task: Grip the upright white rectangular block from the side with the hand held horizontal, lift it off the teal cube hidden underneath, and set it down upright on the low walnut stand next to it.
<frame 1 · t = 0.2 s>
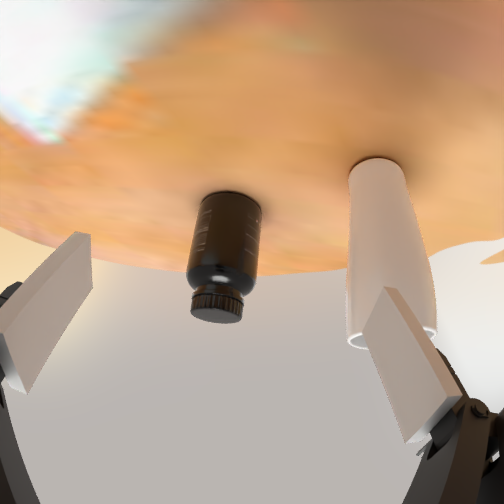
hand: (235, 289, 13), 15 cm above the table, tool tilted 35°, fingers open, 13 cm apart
supplement bottle: (231, 208, 35), on the table
drinking glass: (375, 173, 27), on the table
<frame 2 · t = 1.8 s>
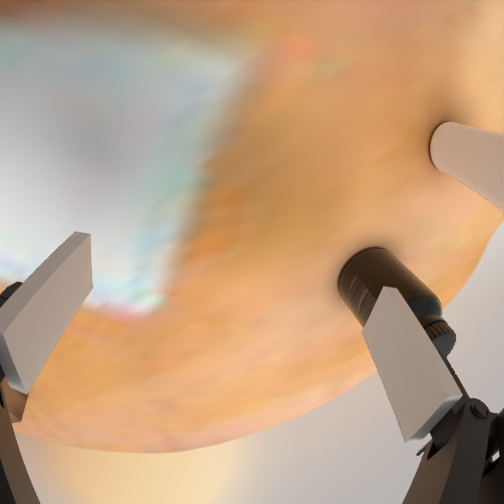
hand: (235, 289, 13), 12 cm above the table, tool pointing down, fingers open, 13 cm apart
supplement bottle: (366, 274, 31), on the table
drinking glass: (444, 145, 26), on the table
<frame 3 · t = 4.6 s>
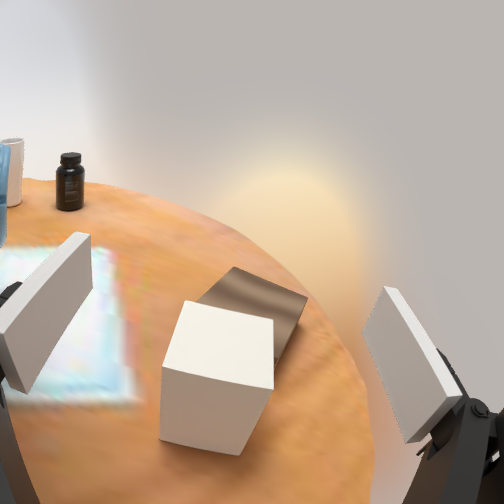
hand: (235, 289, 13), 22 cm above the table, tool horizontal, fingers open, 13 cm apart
walnut stand: (244, 333, 43), on the table
supplement bottle: (69, 206, 64), on the table
upright white rectangular block: (204, 417, 30), on the table
drinking glass: (12, 203, 58), on the table
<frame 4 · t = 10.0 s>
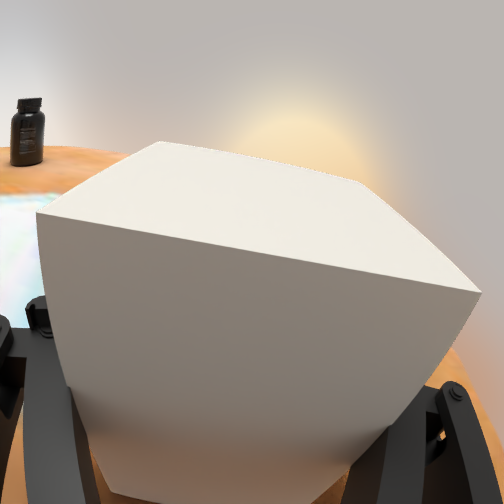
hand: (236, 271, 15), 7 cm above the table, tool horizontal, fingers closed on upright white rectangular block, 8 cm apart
supplement bottle: (26, 163, 46), on the table
upright white rectangular block: (210, 437, 13), on the table, touching gripper
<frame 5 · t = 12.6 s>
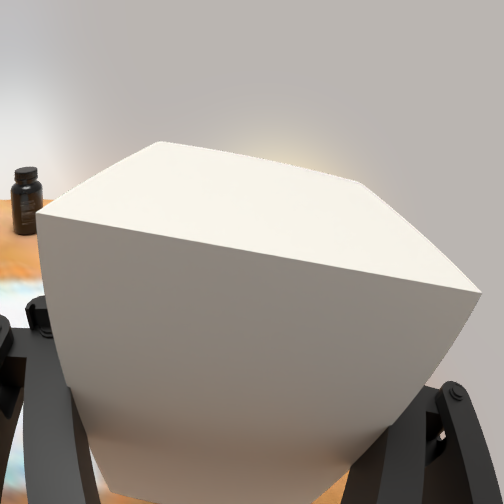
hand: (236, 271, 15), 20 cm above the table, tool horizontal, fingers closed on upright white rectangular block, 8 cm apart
supplement bottle: (28, 229, 52), on the table
upright white rectangular block: (210, 437, 13), point 13 cm above the table, touching gripper
when the fingers open (13 cm above the table, at t = 15.7 s): upright white rectangular block drops 1 cm, resting on walnut stand.
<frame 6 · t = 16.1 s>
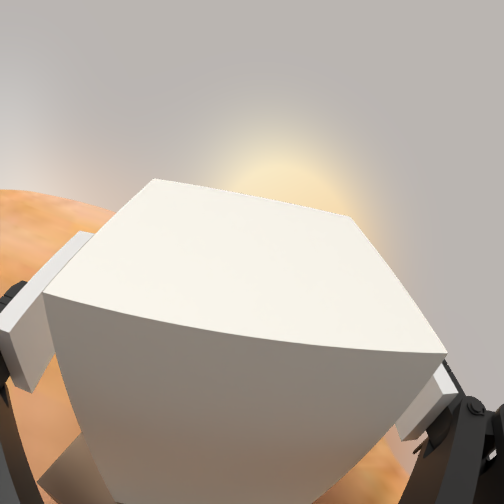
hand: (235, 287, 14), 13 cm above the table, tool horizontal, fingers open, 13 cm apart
walnut stand: (199, 481, 16), on the table
upright white rectangular block: (206, 451, 14), point 5 cm above the table, touching walnut stand
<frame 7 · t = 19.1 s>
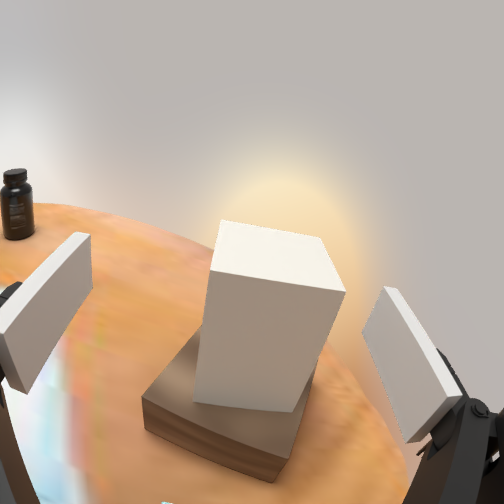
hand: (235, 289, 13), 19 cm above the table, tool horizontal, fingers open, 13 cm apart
walnut stand: (234, 404, 29), on the table
supplement bottle: (19, 233, 48), on the table
upright white rectangular block: (243, 372, 27), point 5 cm above the table, touching walnut stand
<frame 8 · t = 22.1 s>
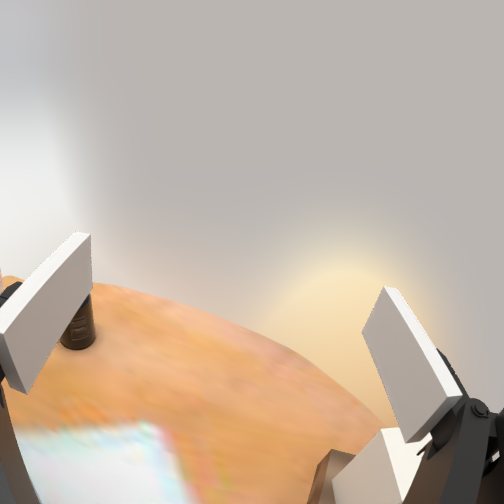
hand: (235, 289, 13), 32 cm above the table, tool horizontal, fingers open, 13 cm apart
supplement bottle: (77, 337, 47), on the table
upright white rectangular block: (366, 503, 26), point 5 cm above the table, touching walnut stand
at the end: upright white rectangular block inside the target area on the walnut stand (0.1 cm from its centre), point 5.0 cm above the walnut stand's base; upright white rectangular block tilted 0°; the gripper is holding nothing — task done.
